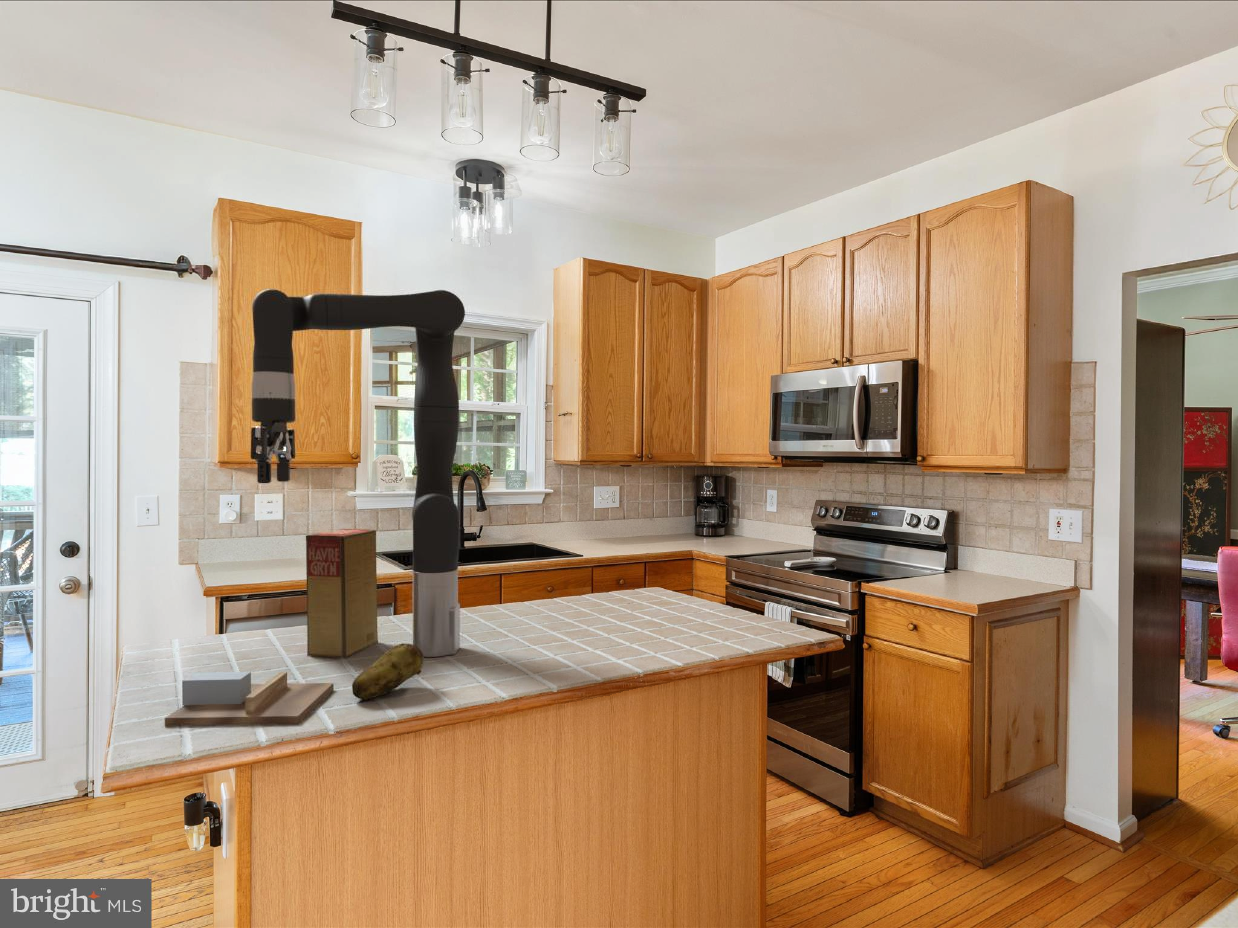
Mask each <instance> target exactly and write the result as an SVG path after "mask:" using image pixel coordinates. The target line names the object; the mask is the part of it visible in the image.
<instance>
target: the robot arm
mask: <svg viewBox="0 0 1238 928" xmlns="http://www.w3.org/2000/svg"><path fill="white" fill-rule="evenodd" d="M251 308H252V309H251V311H252V325H253V327H252V328H253V340H254V341H253V342H254V345H253V351H252V381H251V420H252V422H255V423H260V426H252V427H251V428H250V459H251V460H254V461H255V463H256V464H257V469H256V470H257V472H256V473H257V483H258V484H270V483H271V482H272V463H271V462H272V460H273V456H275V459H276V481H277V482H281V483H282V482H283V483H284V482H289V481H290V480H291V471H290V470H291V469H290V468H291V467H290V466H291V462H292V460H295V458H296V439H295V438H296V435H295V429H294V428H288V426H287V424H288V423H290V424H293V423H294V422H295V421H296V384H295V383H296V382H295V374H294V373H295V368H294V367H295V365H294V364H295V363H294V361H295V360H294V350H293V349H294V348H293V335H294V334H293V332H298V331H308V330H318V331H320V330H321V331H355V330H357V331H358V330H367V329H368V330H369V329H376V328H377V329H378V328H387V327H388V328H389V327H394V328H395V327H403V328H405V327H407V328H414V329H415V339H416V340H415V341H416V349H417V350H416V351H417V352H416V355H417V366H416V376H415V386H414V399H413V400H414V401H413V402H414V403H413V404H414V405H413V435H414V447H415V448H414V449H415V459H416V467H417V468H416V470H417V472H416V485H415V493H414V500H413V507H412V512H411V515H412V516H411V518H412V645H414V646H417V647H418V648H419V649H420V650H421V651H422V653H423V658H424V657H425V658H426V657H428V658H431V657H432V658H433V657H434V658H435V657H443V656H448V655H449V656H450V655H456V654H457V652H458V650H459V649H460V647H461V643H460V642H461V604H460V602H459V598H458V597H459V593H458V592H459V582H458V581H459V580H458V578H459V570H458V569H459V557H460V556H459V555H460V513H459V508H458V506H457V504H456V503H455V499H454V487H453V486H454V484H453V467H454V461H455V460H454V459H455V454H456V451H457V450H456V449H457V443H458V435H459V426H460V425H459V423H460V402H459V401H460V399H459V393H458V392H459V391H458V387H457V386H458V385H457V381H456V378H455V373H454V368H453V367H454V366H453V350H454V349H453V348H454V337H455V333H456V331H457V330H458V329H459V328H460V327H461V326H462V324H463V323H464V321H465V320H464V319H465V316H466V311H465V310H466V309H465V305H464V304H463V302H462V300H461V298H460V297H459V296H457V295H456V294H455V293H453V292H451V291H449V290H448V291H447V290H444V289H438V290H432V291H426V292H418V293H417V292H416V293H410V294H409V293H408V294H396V295H394V294H393V295H390V294H389V295H383V294H382V295H378V294H377V295H373V294H370V295H369V294H349V293H347V294H346V293H344V294H343V293H321V292H320V293H312V294H310V295H307V296H288V295H287V294H286V293H285V292H283V291H281V290H279V289H275V288H268V289H264V290H262V291H260V292H259V293H258V294H256V296H255V298H254V299H253V301H252V307H251Z"/></svg>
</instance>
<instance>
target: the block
mask: <svg viewBox="0 0 1238 928" xmlns="http://www.w3.org/2000/svg"><path fill="white" fill-rule="evenodd" d="M251 675H252V671H232V672H230V671H227V672H226V671H223V672H222V671H221V672H220V671H219V672H194V673H193V674H191V675H189V676H187V677H186V678H185V679H182V681H181V683H182V684H181V685H182V686H181V688H182V689H181V691H182V694H181V695H182V696H181V697H182V698H181V699H182V704H181V705H182V706H184V705H215V704H241V703H242V702H244V701H245V697H247V696H248V695H249V694H251V684H252V676H251Z"/></svg>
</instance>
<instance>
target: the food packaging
mask: <svg viewBox="0 0 1238 928" xmlns="http://www.w3.org/2000/svg"><path fill="white" fill-rule="evenodd" d="M305 544H306V545H305V548H306V549H305V551H306V552H305V556H306V557H305V558H306V560H305V563H306V566H305V568H306V572H305V573H306V614H307V615H306V625H307V626H306V627H307V629H306V630H307V631H306V633H307V634H306V635H307V641H306V642H307V643H306V644H307V645H306V649H307V651H306V652H307V653H306V654H307V655H306V656H307V657H317V658H318V657H320V658H333V659H335V658H336V659H345V658H349V657H350V656H353V655H354V654H356V653H358V652H361V651H363V650H364V649H367V648H369V647H371V646H373V645H375V644H377V643H379V639H378V638H379V637H378V586H377V584H378V582H377V531H376V529H370V528H369V529H368V528H365V529H364V528H363V529H362V528H340V529H334V530H329V531H322V532H318V533H314V534H313V533H312V534H306V535H305Z"/></svg>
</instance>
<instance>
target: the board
mask: <svg viewBox="0 0 1238 928" xmlns="http://www.w3.org/2000/svg"><path fill="white" fill-rule="evenodd" d="M333 691H334V682H320V683H319V682H318V683H317V682H314V683H313V682H312V683H311V682H309V683H307V682H305V683H298V682H297V683H288V672H287V671H279V672H278V673H277V674H275V675H274V676H273V677H271V678H270V679H268V680H267V681H266V682H264V683H251V694H249V695H248V696H247V697H245V701H244V702H242V703H241V704H215V705H182V706H181V707H180V708H178V709H177V710H175V711H173V712H171V713H169V715H167V716H166V717H164V726H165V727H166V726H167V727H172V726H174V727H175V726H180V727H181V726H230V725H231V726H235V725H236V726H237V725H238V726H239V725H241V726H242V725H244V726H245V725H247V726H248V725H295V724H296V725H298V724H299V723H300V722H301V721H302V720H304V719H305V718H306V717H307V716H308V715H309V714H310V713H311V712H312V711H313V710H314V709H315V708H316V707H317V706H319V704H320V703H321V702H322V701H324V700H325V699H326V698H327V696H329V695H330V694H331V693H332V692H333Z"/></svg>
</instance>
